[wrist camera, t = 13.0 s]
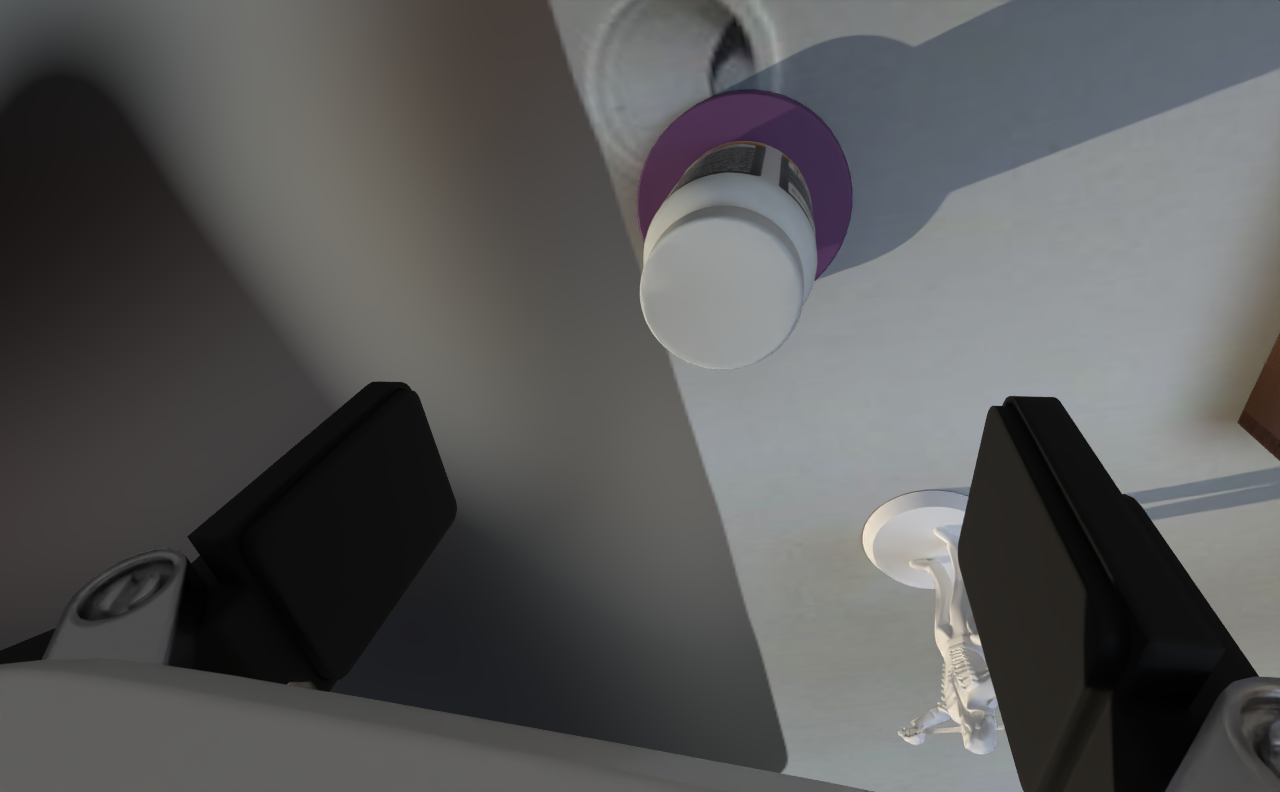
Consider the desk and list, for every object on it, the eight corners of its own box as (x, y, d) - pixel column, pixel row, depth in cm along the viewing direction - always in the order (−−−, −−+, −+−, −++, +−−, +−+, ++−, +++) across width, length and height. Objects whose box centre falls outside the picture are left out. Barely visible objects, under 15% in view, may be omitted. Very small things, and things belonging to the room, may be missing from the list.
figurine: (907, 471, 31) (959, 677, 21) (1032, 523, 31) (1142, 754, 21) (838, 555, 35) (855, 761, 25) (949, 601, 35) (1010, 826, 25)
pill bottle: (661, 253, 27) (602, 354, 19) (697, 119, 24) (644, 169, 15) (782, 291, 27) (777, 410, 18) (835, 160, 23) (857, 233, 15)
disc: (631, 101, 25) (624, 104, 24) (858, 77, 23) (861, 80, 22) (652, 301, 30) (647, 311, 28) (843, 298, 27) (845, 308, 26)
